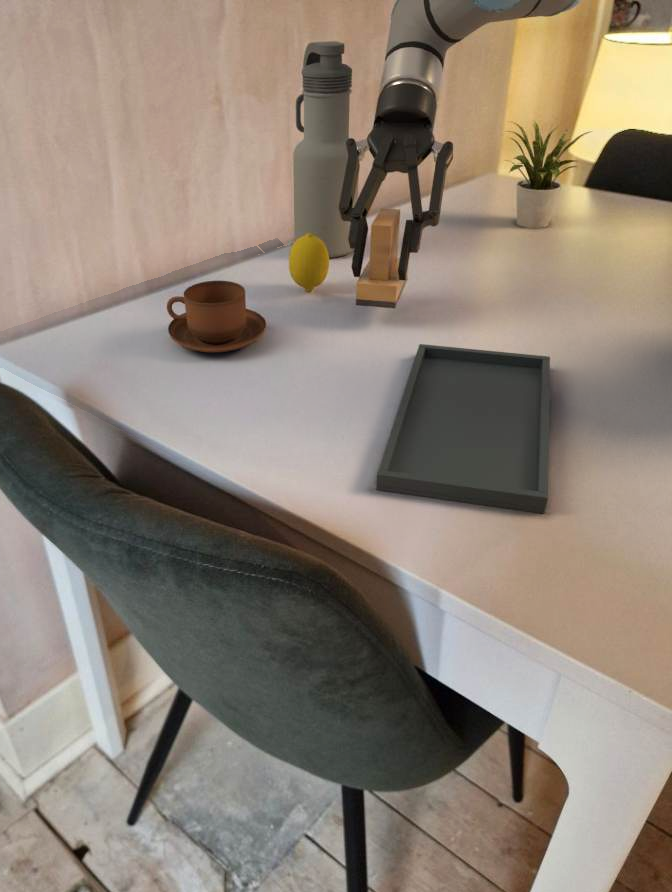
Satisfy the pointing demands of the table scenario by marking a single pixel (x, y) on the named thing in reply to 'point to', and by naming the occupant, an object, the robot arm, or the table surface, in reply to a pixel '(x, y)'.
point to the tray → (472, 429)
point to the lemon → (308, 262)
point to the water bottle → (323, 147)
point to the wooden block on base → (382, 264)
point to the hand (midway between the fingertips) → (378, 273)
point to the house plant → (539, 179)
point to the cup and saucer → (215, 318)
